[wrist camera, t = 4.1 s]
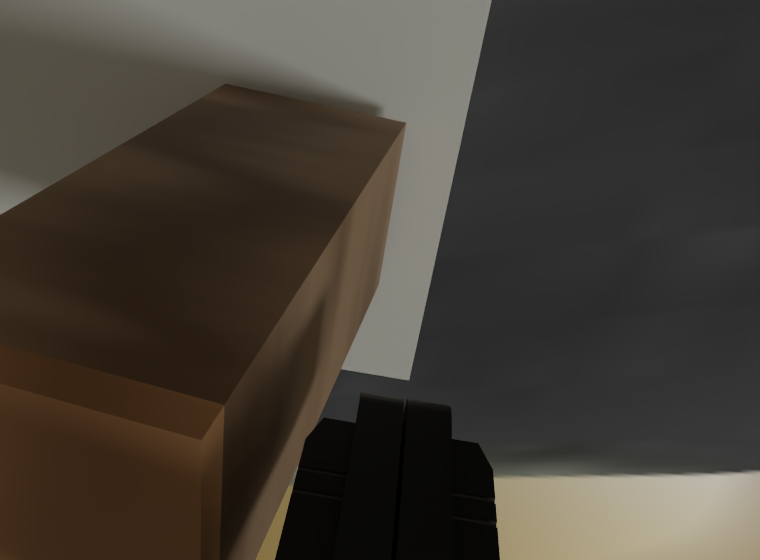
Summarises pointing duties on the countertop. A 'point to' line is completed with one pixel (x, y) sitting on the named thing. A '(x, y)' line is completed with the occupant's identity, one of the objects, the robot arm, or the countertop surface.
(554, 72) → the countertop surface
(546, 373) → the countertop surface
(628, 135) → the countertop surface
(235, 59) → the grey mat
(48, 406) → the walnut block
